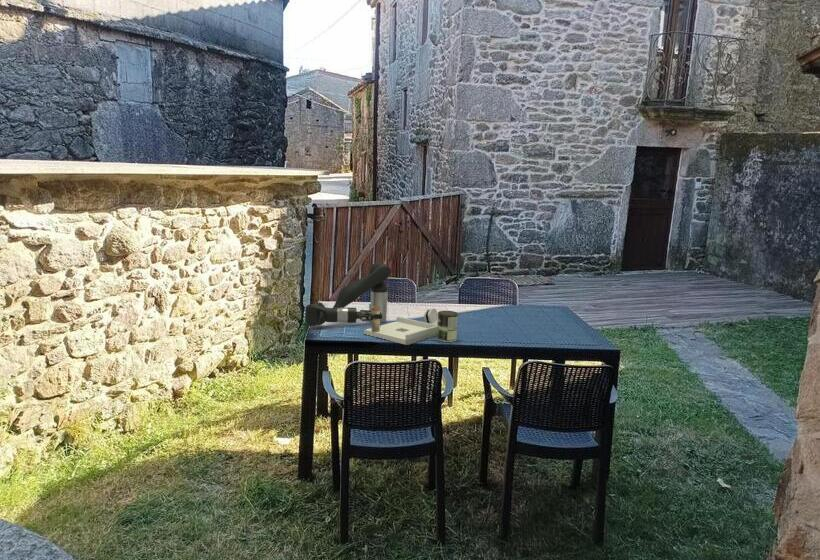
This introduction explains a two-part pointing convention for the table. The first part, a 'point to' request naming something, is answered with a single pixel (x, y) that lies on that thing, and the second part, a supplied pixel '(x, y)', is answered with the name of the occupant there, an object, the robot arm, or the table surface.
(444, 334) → the coffee can
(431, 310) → the hinge
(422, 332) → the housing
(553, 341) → the table surface
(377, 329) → the gear shaft
